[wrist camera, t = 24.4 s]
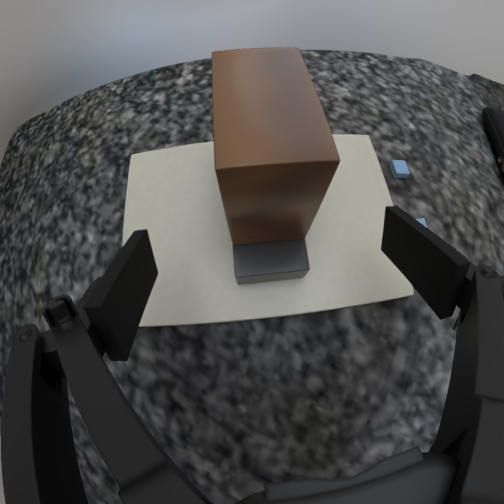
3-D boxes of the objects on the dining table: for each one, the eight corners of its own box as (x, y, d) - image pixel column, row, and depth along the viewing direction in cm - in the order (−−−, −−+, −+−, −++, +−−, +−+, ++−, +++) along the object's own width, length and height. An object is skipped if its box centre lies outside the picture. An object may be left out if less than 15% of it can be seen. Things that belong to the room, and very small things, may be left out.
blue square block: (429, 234, 21) (424, 237, 22) (424, 217, 21) (419, 221, 22) (416, 235, 21) (411, 238, 22) (411, 218, 21) (406, 222, 22)
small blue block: (409, 173, 22) (405, 178, 23) (405, 160, 23) (401, 165, 24) (396, 173, 22) (393, 178, 23) (392, 159, 23) (388, 164, 24)
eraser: (237, 285, 20) (217, 221, 9) (226, 144, 23) (211, 35, 13) (303, 278, 20) (355, 209, 9) (279, 140, 23) (290, 31, 13)
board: (127, 327, 20) (122, 326, 19) (134, 160, 24) (131, 154, 23) (408, 296, 20) (414, 294, 19) (365, 141, 24) (368, 134, 23)
